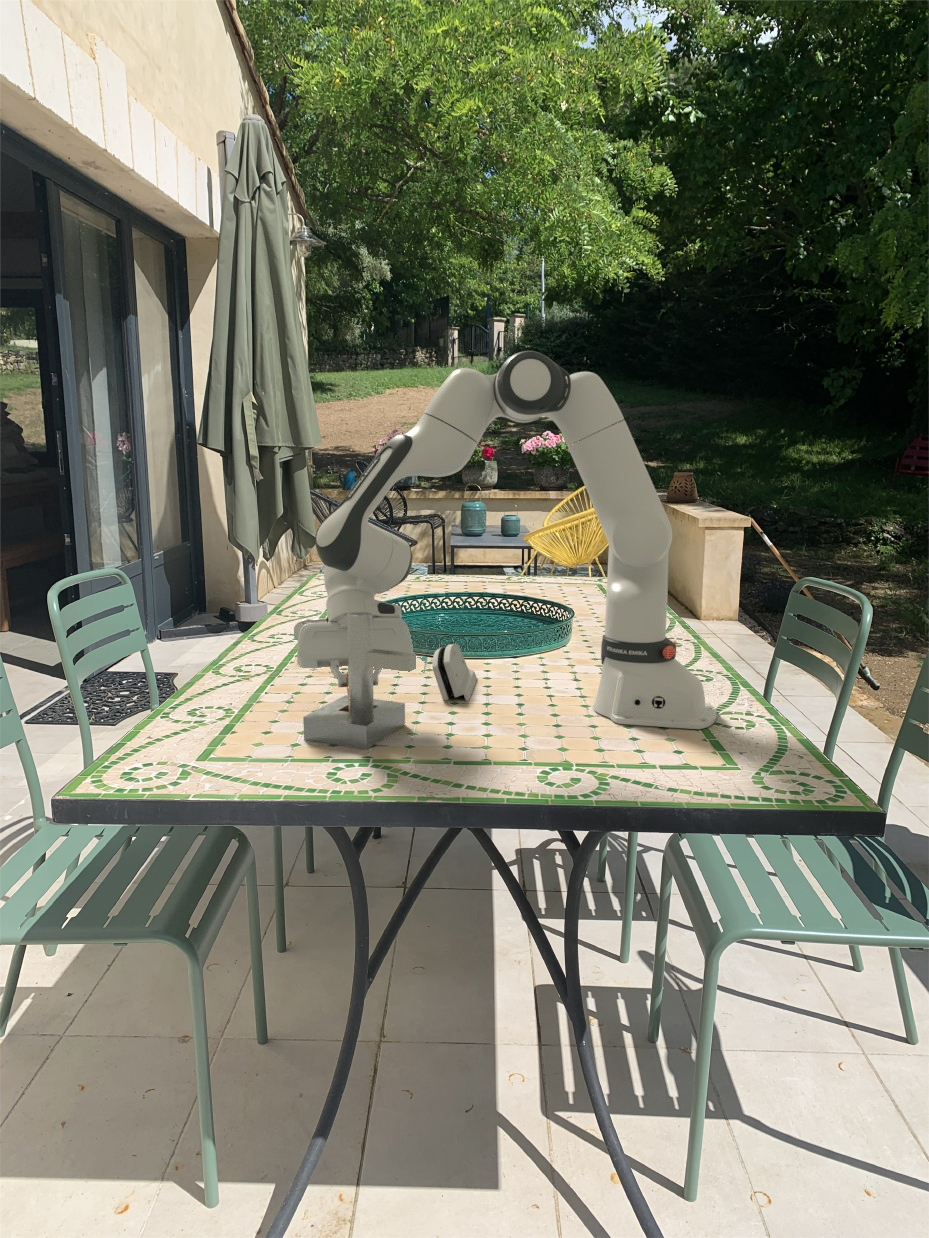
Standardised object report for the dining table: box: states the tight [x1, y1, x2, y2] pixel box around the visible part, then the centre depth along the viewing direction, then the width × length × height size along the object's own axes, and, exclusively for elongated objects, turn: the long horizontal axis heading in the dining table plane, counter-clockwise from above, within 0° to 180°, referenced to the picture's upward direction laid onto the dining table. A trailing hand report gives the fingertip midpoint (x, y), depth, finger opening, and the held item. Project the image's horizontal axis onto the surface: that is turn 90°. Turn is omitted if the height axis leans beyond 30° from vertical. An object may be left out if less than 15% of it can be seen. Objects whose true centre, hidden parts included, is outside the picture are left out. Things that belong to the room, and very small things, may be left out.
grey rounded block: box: [431, 643, 478, 702], centre depth 182 cm, size 17×5×10 cm, turn 173°
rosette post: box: [302, 612, 416, 750], centre depth 152 cm, size 20×14×22 cm
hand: (358, 684), depth 155 cm, fingers open, 4 cm apart
